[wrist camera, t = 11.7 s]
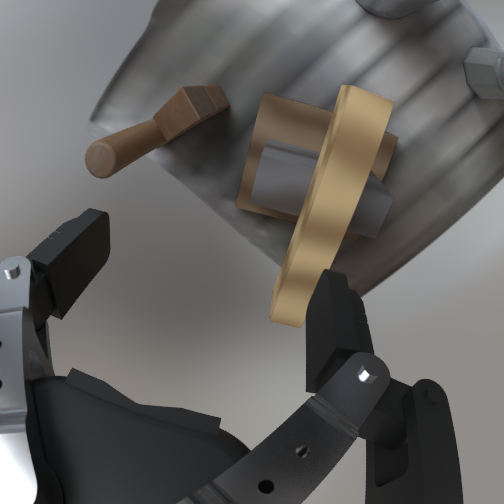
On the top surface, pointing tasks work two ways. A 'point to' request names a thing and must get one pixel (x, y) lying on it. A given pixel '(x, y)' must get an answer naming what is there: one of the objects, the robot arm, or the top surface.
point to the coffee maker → (485, 72)
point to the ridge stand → (304, 166)
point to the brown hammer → (155, 129)
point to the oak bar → (330, 199)
